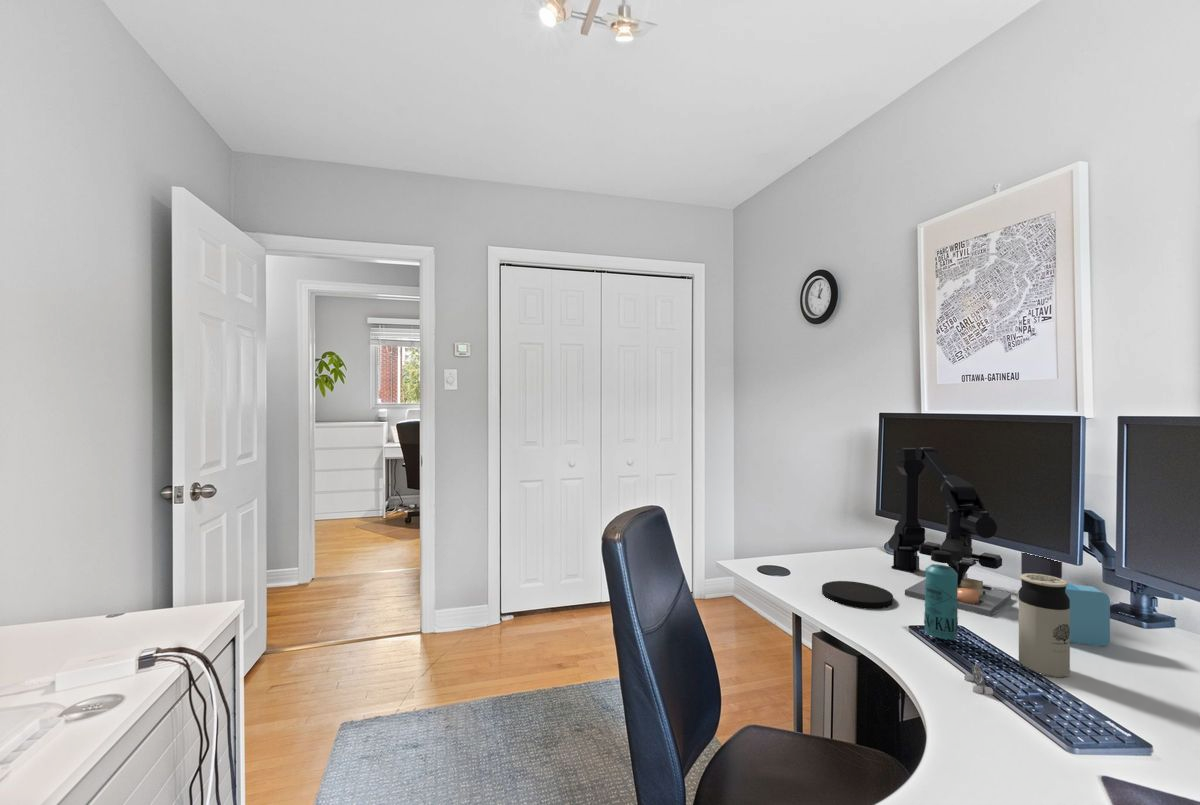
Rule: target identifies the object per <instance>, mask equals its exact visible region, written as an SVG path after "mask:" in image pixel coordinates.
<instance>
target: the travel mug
mask: <svg viewBox="0 0 1200 805" xmlns="http://www.w3.org/2000/svg"><path fill="white" fill-rule="evenodd" d="M1019 578H1020V579H1022V582H1023V585H1021V587H1020V588H1019V589H1018V662H1019V664H1020V663H1021V664H1023V665H1024V666H1026V667H1028V668H1029V669H1031V670H1033V671H1035V672H1034V673H1036V672H1038V673H1037V674H1039V673H1041V674H1040V675H1042V674H1044V675H1043V676H1046V675H1048V676H1047V677H1053V676H1056V677H1055V678H1062V677H1068V676H1069V675H1070V674H1071V673H1070V672H1071V665H1070V664H1071V660H1070V659H1071V656H1070V655H1071V647H1070V646H1071V643H1070V599H1069V598H1068V596H1067V594H1066V593H1065V590H1066V586H1068V584H1069V583H1068V581H1067V580H1065V579H1063V578H1061V579H1060V578H1056V577H1052V576H1048V575H1042V574H1022V575H1021V574H1020V576H1019ZM1021 664H1020V665H1021ZM1024 666H1023V667H1024ZM1029 669H1028V670H1029ZM1031 670H1030V671H1031ZM1033 671H1032V672H1033Z"/></svg>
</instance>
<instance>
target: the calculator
mask: <svg viewBox="0 0 1200 805" xmlns="http://www.w3.org/2000/svg"><path fill="white" fill-rule="evenodd" d="M1020 552H1021V551H1020ZM1020 554H1021V558H1020V559H1021V561H1020V562H1021V564H1020V565H1021V574H1020V575H1022V574H1042V575H1048V576H1052V577H1056V578H1060V579H1062V578H1063V561H1062V562H1058V561H1054V560H1051V559H1047V558H1044V557H1039V556H1035V555H1030V554H1027V553H1022V552H1021V553H1020ZM1020 579H1021V578H1020ZM1022 585H1023V582H1022V579H1021V586H1022Z"/></svg>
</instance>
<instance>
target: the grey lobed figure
mask: <svg viewBox="0 0 1200 805" xmlns="http://www.w3.org/2000/svg"><path fill="white" fill-rule="evenodd" d="M971 671H972V673H966V674H964V677H963V678H964V679H963V680H964V681H970V682H974V683H975V685H973V687H972V692H973V693H980V694H983V695H984V694H986V695H994V690H993V688H992V687H990V686H986V684H985V683H986V682H985V679H984V676H983V674H982V672H983V671H982V669H981V667H980V666H979V664H977V663H975V664H974V665H972V669H971Z"/></svg>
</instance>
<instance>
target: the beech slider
mask: <svg viewBox="0 0 1200 805" xmlns="http://www.w3.org/2000/svg"><path fill="white" fill-rule="evenodd" d="M983 585H984V583H983V580H980V579H974V578H970V577H967V578H965V579H963V580H961V588H968V589H972V590H975V591H978V592H979V595H980V596H981V595H982V594H983Z"/></svg>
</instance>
